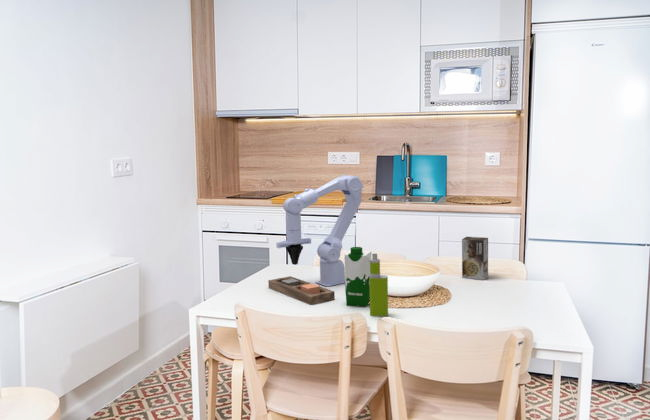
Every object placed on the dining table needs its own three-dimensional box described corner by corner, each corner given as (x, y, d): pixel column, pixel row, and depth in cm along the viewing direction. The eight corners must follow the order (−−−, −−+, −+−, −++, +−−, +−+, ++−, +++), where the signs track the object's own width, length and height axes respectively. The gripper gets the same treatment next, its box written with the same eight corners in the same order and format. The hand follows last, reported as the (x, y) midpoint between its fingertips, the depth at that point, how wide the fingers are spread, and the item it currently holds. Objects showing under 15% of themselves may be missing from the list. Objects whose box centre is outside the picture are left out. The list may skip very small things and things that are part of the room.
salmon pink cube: (312, 292, 208) (312, 283, 208) (320, 295, 204) (319, 286, 204) (301, 294, 205) (300, 285, 205) (308, 297, 201) (308, 288, 201)
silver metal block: (292, 287, 220) (292, 278, 219) (299, 289, 216) (299, 280, 215) (281, 289, 217) (281, 280, 216) (288, 291, 213) (287, 283, 212)
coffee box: (488, 277, 228) (489, 237, 226) (483, 280, 222) (484, 240, 220) (466, 274, 232) (466, 236, 230) (461, 278, 227) (461, 238, 225)
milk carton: (343, 306, 193) (341, 248, 191) (350, 298, 202) (349, 243, 199) (368, 308, 190) (367, 249, 188) (374, 300, 199) (373, 244, 196)
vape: (370, 312, 185) (369, 252, 183) (388, 313, 184) (387, 252, 182) (369, 316, 182) (368, 255, 179) (387, 316, 181) (386, 255, 178)
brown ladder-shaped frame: (290, 283, 226) (290, 276, 225) (334, 299, 201) (334, 291, 201) (268, 287, 220) (268, 280, 219) (311, 305, 195) (311, 296, 195)
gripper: (303, 226, 223) (304, 259, 225) (271, 230, 215) (273, 265, 217) (313, 228, 217) (314, 262, 219) (281, 232, 209) (282, 268, 211)
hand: (294, 264), depth 218 cm, fingers closed
